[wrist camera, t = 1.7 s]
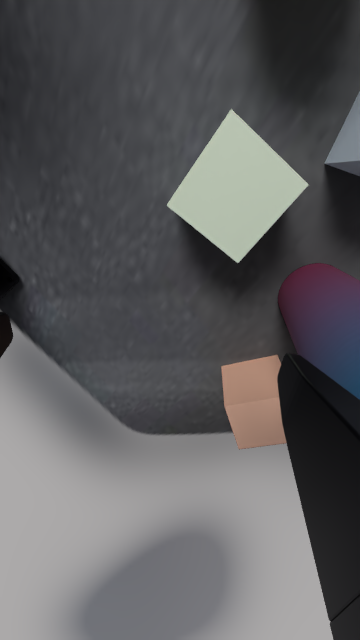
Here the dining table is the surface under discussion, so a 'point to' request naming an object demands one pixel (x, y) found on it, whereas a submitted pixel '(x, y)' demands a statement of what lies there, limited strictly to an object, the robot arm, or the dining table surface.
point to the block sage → (236, 189)
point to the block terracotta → (254, 402)
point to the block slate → (348, 143)
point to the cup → (325, 321)
